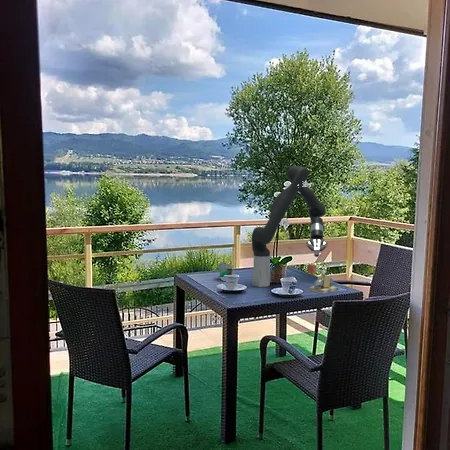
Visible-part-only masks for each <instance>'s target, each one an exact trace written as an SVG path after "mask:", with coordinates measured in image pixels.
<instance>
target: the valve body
mask: <svg viewBox="0 0 450 450" xmlns="http://www.w3.org/2000/svg"><path fill="white" fill-rule="evenodd" d="M333 282H334V281H333V278H332V277H331V276H330V275H329V276H328V275H325V276H322V275H318V276H317V279H316V280H315V281H314V282H313V283H314V285H313V286H314V288H315V289H321V287H322V288H325V287H331V286H334V285H333Z"/></svg>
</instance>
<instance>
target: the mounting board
mask: <svg viewBox="0 0 450 450" xmlns="http://www.w3.org/2000/svg"><path fill="white" fill-rule="evenodd" d="M314 286H315V285H313V286H310V287H308V291H311V292H315V293H319V294H327V293H331V292H335V290H336V291H339V287H338V286H335V285H333V286H331V287H325V288H322V287H321V289H315V288H314Z"/></svg>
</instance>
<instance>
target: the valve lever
mask: <svg viewBox="0 0 450 450" xmlns="http://www.w3.org/2000/svg"><path fill="white" fill-rule="evenodd" d="M317 272H320V274H321V273H322V275H321V276H326V273H327V270H326V269H320V268H317V265H315V264H307V274H310V275H313V274H315V275H316V273H317ZM327 274H328V273H327Z"/></svg>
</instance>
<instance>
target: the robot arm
mask: <svg viewBox="0 0 450 450" xmlns="http://www.w3.org/2000/svg"><path fill="white" fill-rule="evenodd" d="M286 176H287V178H288V179H289V182H290V184H289V186H287V187H286V188H285V189H284V190H282V191H281V192H280V193H279V194H277V195H276V197H275V198H274V200H273V202H272V204H271V206H270V211H269V212H270V213H269V218H268V221H267V222H266V223H265V225H264V227H263V226H256V227H254V228H253V231H252V232H251V247H252V248H251V249H252V252H253V268H252V269H251V275H252V278H251V286H253V287H258V288H266V287H269V286H270V284H271V280H270V277H271V275H270V274H271V251H270V250H269V248H268V247H267V245H268V244H270V243H271V242H272V240H273V238H274V237H275V235H276V232H277V229H278V228H279V225H280V223H281V221H282V220H283V218H284V217H285V214H286V213H287V212H288V210H289V208H290V206H291V204H292V202H293V201H294V199H295V198H296V196H297V194H298V193H299V194H300V196H301V197H302V199H303V201H304V203H305V204H306V207H308V211H307V213H308V216H309V220H310V232H309V233H310V238H309V241H306V242H305V245H306V247H307V248H308V249H309V250H310V251H311V252H313V253H314V254H313V255H314V257H315V258H318V257H320V252H323V251H324V250H325V249H326V248H327V247H328V246H329V245H328V241H326V242H325V240H324V221H323V218H322V217H324V216H325V215H326V213H327V211H326V207H325V206H324V205H323V204H322V203H321V202H320V201H319V200H318V198H317V195H316V194H315V193H314V191H313V190H312V189H311V188H310V187H309V186H307V187H302V186H303V184H302V183H303V182H302V181H304V182H305V183H306V182H307V179H308V177H309V170H308V168H307V167H305V166H297V165H291V166H290V167H289V168H287V171H286ZM298 184H299V186H297V185H298ZM298 187H299V188H298Z"/></svg>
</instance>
